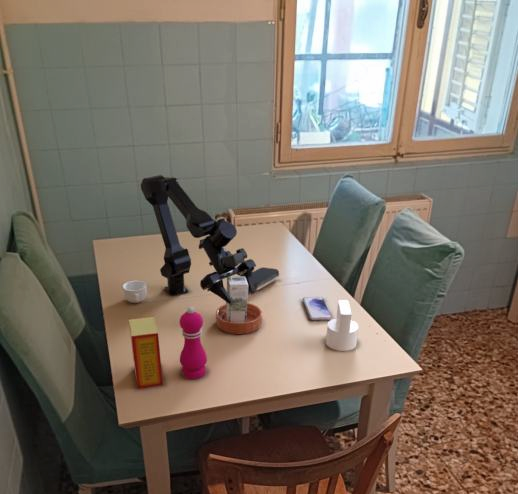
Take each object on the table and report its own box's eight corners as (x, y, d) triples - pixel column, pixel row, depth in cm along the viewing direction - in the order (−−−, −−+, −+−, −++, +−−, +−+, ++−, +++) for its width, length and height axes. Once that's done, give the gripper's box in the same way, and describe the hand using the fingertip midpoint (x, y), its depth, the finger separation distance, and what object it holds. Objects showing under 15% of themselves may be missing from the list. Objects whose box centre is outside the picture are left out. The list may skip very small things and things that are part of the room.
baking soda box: (134, 368, 155) (128, 317, 147) (158, 365, 157) (153, 314, 149) (137, 388, 148) (131, 335, 139) (162, 384, 149) (158, 332, 141)
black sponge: (254, 295, 195) (254, 285, 193) (234, 288, 199) (234, 278, 198) (281, 279, 206) (281, 270, 205) (262, 273, 211) (262, 264, 209)
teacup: (123, 296, 193) (121, 282, 190) (145, 293, 195) (144, 279, 192) (126, 309, 185) (124, 294, 182) (150, 306, 187) (148, 292, 184)
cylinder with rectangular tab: (324, 334, 173) (327, 299, 167) (354, 335, 173) (358, 300, 166) (326, 350, 165) (330, 314, 159) (357, 351, 165) (362, 315, 159)
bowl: (209, 318, 180) (208, 307, 178) (248, 309, 186) (248, 298, 184) (228, 339, 170) (228, 327, 168) (269, 328, 176) (270, 317, 173)
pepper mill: (196, 383, 150) (193, 317, 140) (175, 374, 153) (170, 309, 143) (212, 370, 155) (210, 305, 145) (191, 362, 159) (188, 298, 148)
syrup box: (243, 316, 181) (245, 275, 173) (246, 326, 176) (248, 283, 168) (225, 317, 180) (226, 275, 172) (228, 326, 175) (229, 284, 167)
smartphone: (322, 296, 193) (332, 317, 180) (322, 299, 193) (332, 320, 181) (302, 297, 192) (310, 318, 179) (301, 299, 193) (310, 320, 180)
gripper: (204, 249, 161) (231, 297, 160) (252, 234, 172) (277, 278, 171) (189, 266, 170) (213, 312, 169) (235, 251, 181) (258, 293, 180)
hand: (241, 298), depth 172 cm, fingers open, 9 cm apart
